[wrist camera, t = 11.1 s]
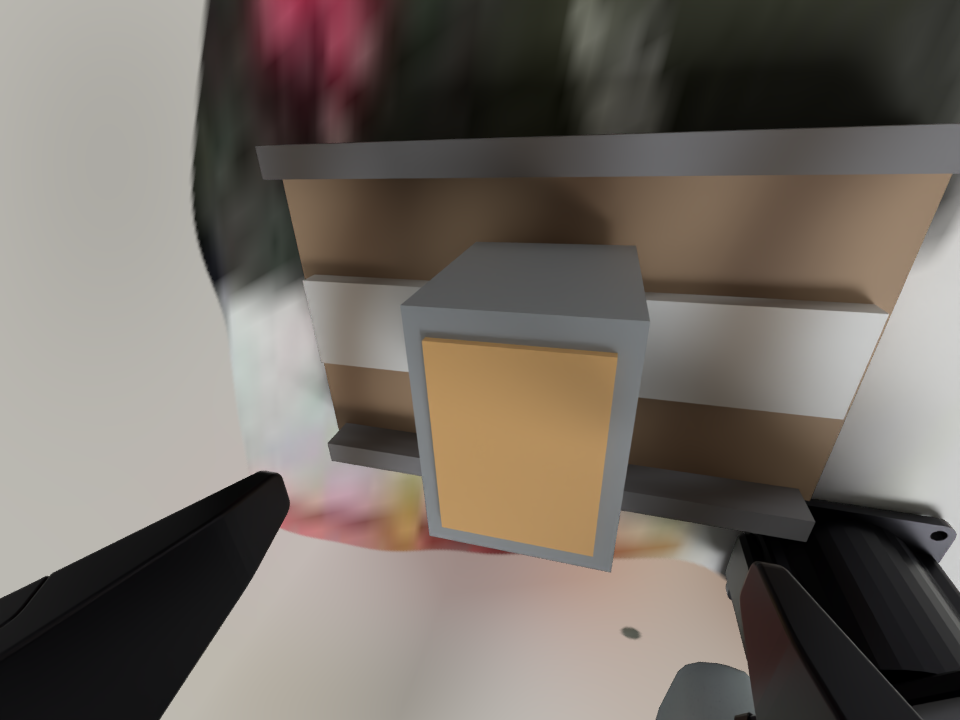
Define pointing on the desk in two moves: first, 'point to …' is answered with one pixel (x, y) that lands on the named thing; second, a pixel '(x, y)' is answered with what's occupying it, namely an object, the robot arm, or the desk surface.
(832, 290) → the rail board
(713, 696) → the flask
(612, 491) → the module
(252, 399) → the desk surface
